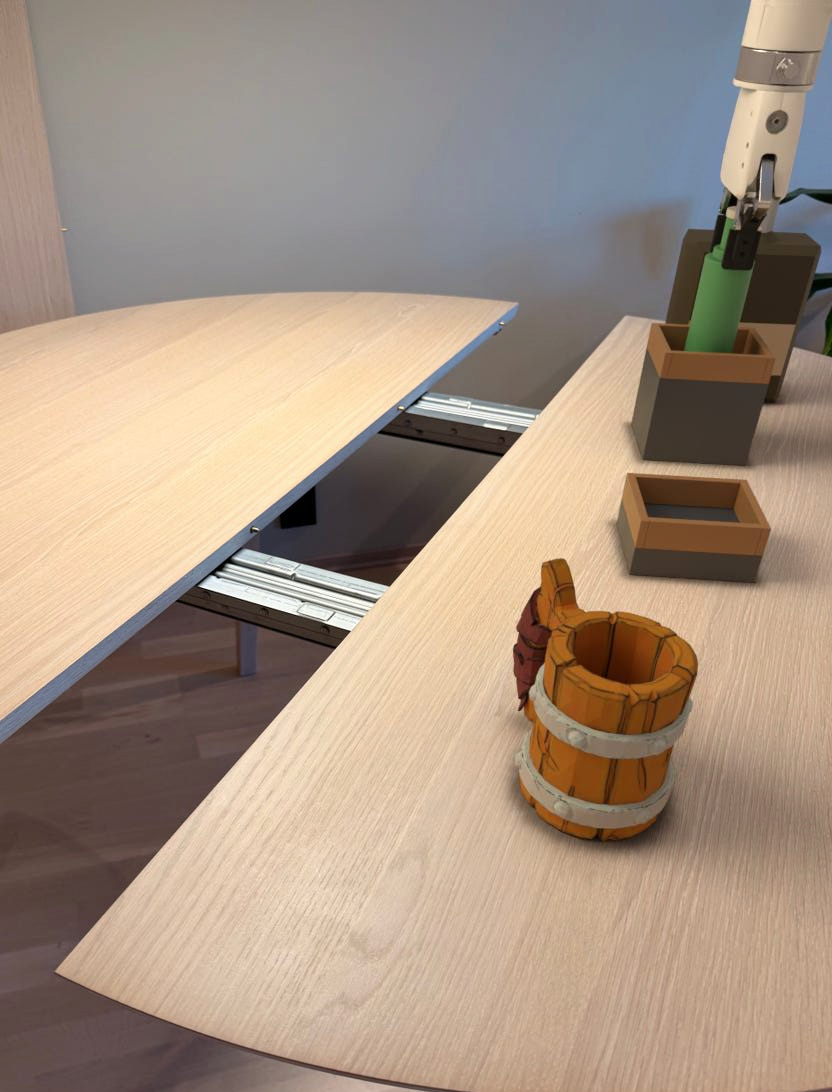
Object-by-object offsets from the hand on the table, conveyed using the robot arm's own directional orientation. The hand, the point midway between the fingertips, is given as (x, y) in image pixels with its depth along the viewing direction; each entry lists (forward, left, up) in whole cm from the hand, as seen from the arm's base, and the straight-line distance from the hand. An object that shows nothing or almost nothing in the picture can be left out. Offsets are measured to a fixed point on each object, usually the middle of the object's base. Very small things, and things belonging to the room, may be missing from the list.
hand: (730, 259), depth 107 cm
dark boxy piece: (-7, -18, -22) cm, 29 cm away
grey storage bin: (0, 0, -22) cm, 22 cm away
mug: (+19, +59, -22) cm, 66 cm away
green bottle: (0, 0, -12) cm, 12 cm away
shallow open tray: (+5, +26, -22) cm, 34 cm away
